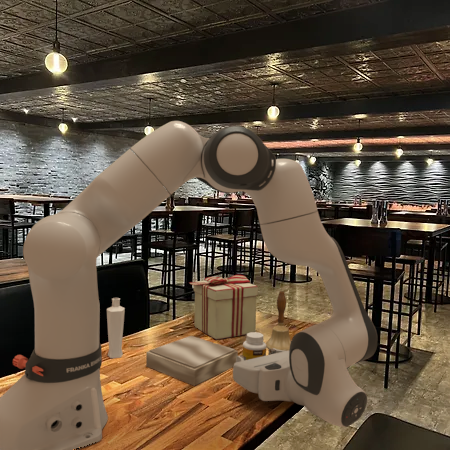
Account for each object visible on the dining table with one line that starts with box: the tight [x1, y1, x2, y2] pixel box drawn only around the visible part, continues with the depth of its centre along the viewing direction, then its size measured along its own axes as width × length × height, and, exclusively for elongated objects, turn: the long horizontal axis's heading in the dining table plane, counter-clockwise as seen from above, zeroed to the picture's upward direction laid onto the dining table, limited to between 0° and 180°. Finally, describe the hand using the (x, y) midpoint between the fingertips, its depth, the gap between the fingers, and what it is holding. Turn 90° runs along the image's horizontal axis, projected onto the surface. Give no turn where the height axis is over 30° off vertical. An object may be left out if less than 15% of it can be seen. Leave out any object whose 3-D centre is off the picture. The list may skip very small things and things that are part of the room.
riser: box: [145, 335, 239, 387], centre depth 108 cm, size 16×16×4 cm
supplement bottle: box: [241, 331, 267, 360], centre depth 103 cm, size 6×6×10 cm
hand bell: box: [265, 290, 292, 351], centre depth 123 cm, size 8×8×16 cm
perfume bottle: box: [106, 297, 126, 359], centre depth 112 cm, size 5×4×15 cm
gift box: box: [188, 274, 259, 340], centre depth 137 cm, size 17×18×17 cm
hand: (255, 355), depth 102 cm, fingers open, 8 cm apart
